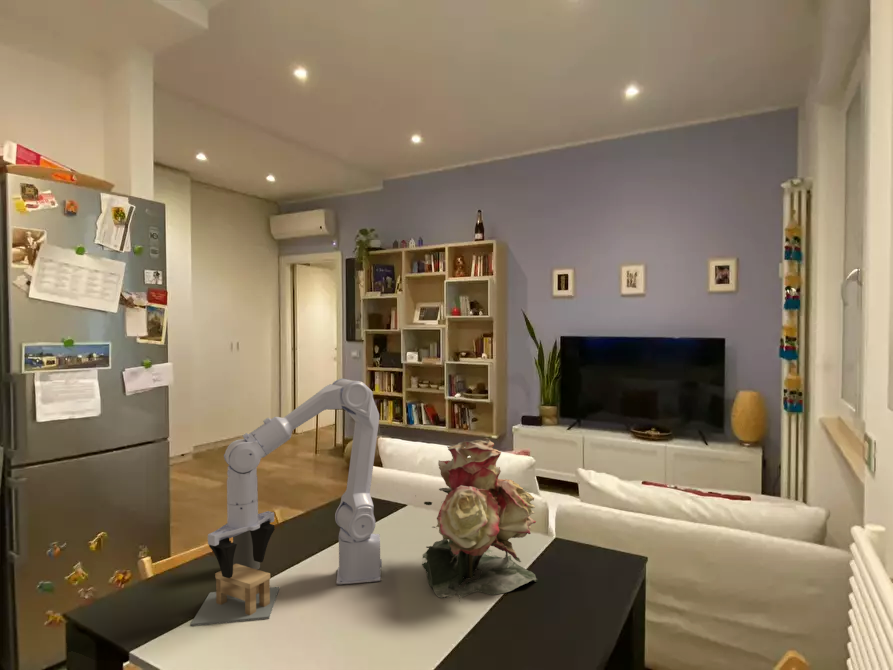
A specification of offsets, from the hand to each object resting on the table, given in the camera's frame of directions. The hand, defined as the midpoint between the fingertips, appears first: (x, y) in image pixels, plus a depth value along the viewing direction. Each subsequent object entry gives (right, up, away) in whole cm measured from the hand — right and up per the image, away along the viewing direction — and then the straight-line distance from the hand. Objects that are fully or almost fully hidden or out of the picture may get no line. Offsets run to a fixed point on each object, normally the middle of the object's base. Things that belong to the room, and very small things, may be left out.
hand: (243, 568), depth 102 cm
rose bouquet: (+49, -7, +14) cm, 51 cm away
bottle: (-6, -8, +16) cm, 19 cm away
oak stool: (0, -7, 0) cm, 7 cm away
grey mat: (-1, -7, 0) cm, 7 cm away
